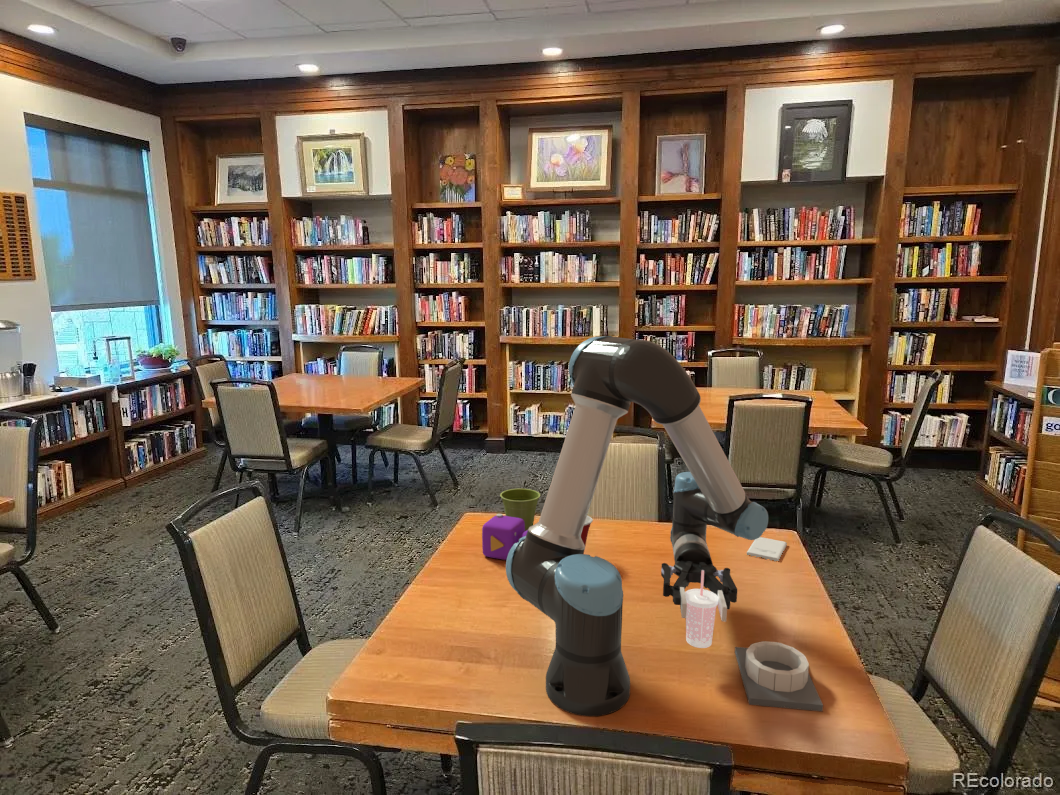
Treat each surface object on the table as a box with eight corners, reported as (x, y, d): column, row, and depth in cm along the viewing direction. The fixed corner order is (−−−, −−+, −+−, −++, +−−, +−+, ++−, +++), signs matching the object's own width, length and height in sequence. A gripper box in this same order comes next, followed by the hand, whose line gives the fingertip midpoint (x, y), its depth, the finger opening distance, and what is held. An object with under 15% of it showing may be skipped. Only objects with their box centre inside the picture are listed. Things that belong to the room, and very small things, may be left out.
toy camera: (530, 565, 165) (530, 528, 163) (479, 560, 168) (479, 525, 166) (538, 548, 176) (538, 514, 174) (490, 544, 178) (489, 510, 176)
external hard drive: (786, 547, 177) (778, 563, 166) (756, 541, 181) (746, 557, 170) (787, 542, 176) (778, 558, 166) (756, 536, 181) (746, 551, 170)
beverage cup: (714, 634, 120) (718, 564, 118) (717, 652, 114) (722, 579, 112) (681, 631, 121) (684, 562, 119) (682, 648, 115) (686, 576, 113)
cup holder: (749, 704, 110) (750, 680, 109) (734, 652, 125) (736, 631, 125) (822, 711, 108) (824, 687, 107) (798, 657, 124) (800, 636, 123)
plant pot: (545, 536, 184) (545, 499, 182) (505, 540, 181) (504, 502, 179) (534, 521, 195) (534, 486, 193) (497, 525, 192) (496, 489, 190)
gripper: (738, 579, 133) (759, 637, 111) (645, 571, 136) (648, 627, 113) (740, 545, 132) (762, 597, 109) (647, 538, 135) (649, 588, 112)
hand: (704, 612), depth 111 cm, fingers closed on beverage cup, 6 cm apart
